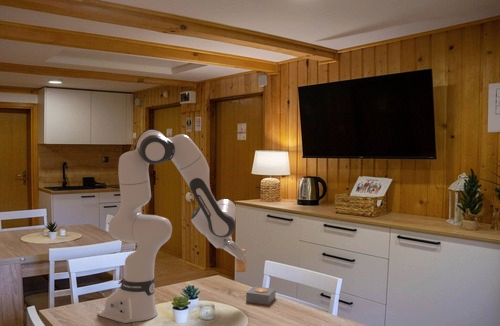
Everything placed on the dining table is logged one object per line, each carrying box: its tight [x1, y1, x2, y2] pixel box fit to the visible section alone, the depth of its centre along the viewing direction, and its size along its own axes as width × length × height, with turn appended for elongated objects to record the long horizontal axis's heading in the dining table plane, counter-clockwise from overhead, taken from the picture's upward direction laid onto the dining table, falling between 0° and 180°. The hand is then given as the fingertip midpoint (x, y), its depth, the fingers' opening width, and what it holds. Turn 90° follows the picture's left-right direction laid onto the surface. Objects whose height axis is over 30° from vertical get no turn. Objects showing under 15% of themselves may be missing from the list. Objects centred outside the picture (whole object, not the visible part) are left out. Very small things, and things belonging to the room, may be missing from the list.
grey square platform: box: [245, 285, 277, 306], centre depth 193 cm, size 10×10×4 cm
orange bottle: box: [235, 248, 248, 273], centre depth 188 cm, size 4×4×9 cm
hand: (242, 259), depth 188 cm, fingers closed on orange bottle, 4 cm apart
